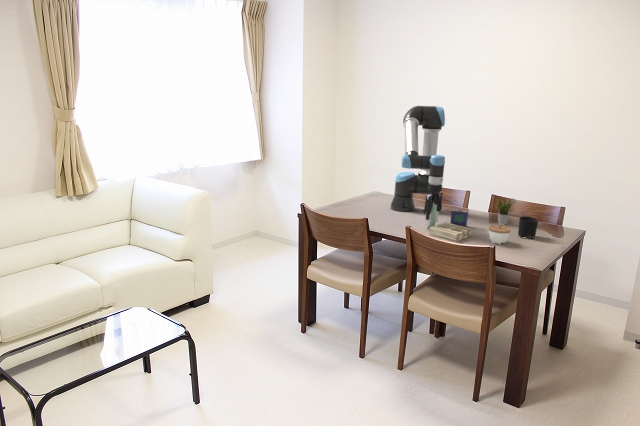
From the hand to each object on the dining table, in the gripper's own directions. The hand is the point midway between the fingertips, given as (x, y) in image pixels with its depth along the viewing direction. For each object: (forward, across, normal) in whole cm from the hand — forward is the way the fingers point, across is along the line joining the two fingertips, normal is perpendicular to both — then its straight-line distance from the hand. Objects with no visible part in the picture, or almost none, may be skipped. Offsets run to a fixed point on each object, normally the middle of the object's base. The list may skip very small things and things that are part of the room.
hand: (431, 223), depth 285 cm
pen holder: (+3, +29, -42) cm, 51 cm away
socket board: (+3, -2, -13) cm, 14 cm away
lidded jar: (+3, +7, -36) cm, 37 cm away
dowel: (+3, 0, 0) cm, 3 cm away
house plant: (+3, +44, -23) cm, 50 cm away
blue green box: (+3, +18, -7) cm, 20 cm away
